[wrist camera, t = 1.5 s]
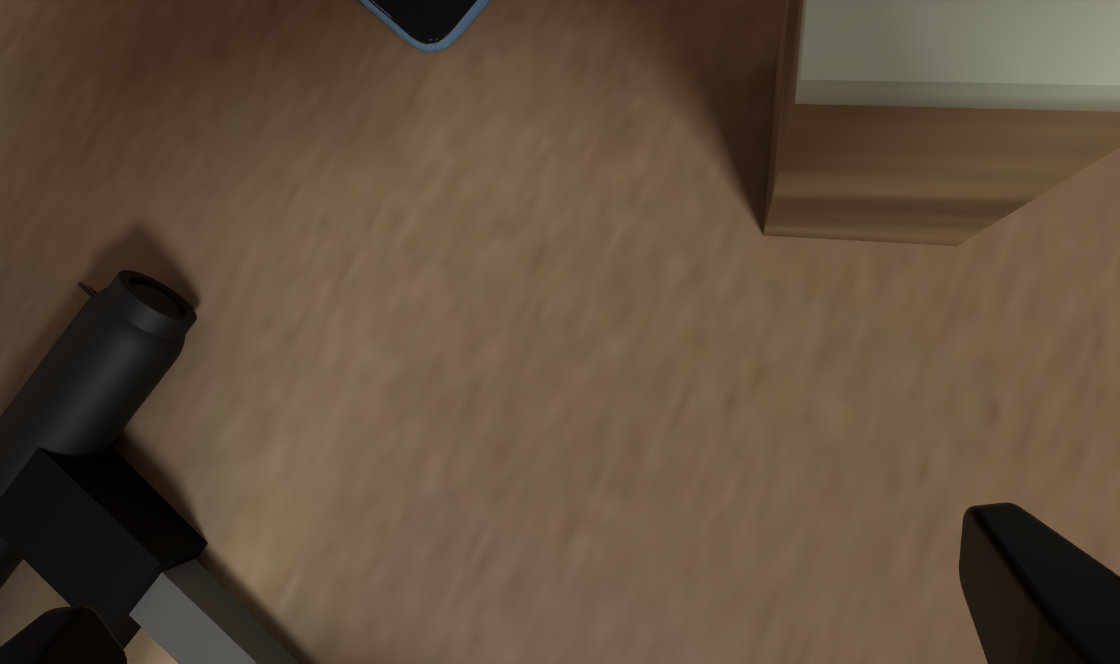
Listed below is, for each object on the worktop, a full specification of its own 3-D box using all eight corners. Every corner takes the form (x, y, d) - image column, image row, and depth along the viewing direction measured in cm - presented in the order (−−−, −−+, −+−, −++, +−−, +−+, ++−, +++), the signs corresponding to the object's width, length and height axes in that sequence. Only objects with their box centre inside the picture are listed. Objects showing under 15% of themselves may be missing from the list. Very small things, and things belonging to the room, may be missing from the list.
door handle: (485, 612, 22) (65, 234, 24) (43, 1144, 23) (-316, 745, 26) (511, 578, 25) (139, 248, 27) (122, 1047, 27) (-201, 700, 29)
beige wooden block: (957, 245, 22) (1218, 87, 10) (763, 235, 23) (800, 79, 11) (969, 60, 22) (1240, -301, 11) (777, 58, 23) (828, -275, 12)
